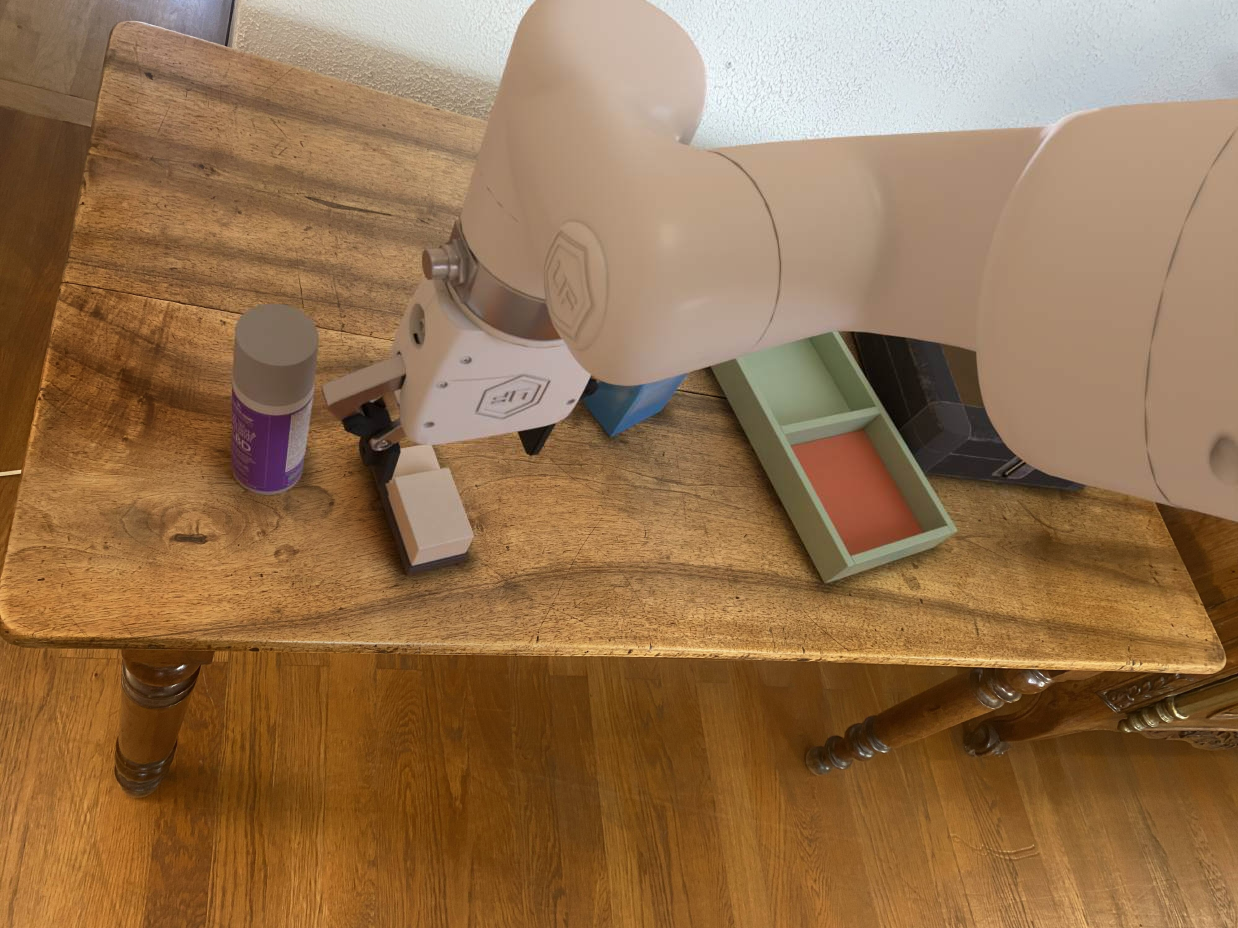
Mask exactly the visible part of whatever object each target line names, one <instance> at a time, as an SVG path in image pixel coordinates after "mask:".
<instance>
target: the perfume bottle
mask: <svg viewBox="0 0 1238 928" xmlns="http://www.w3.org/2000/svg"><path fill="white" fill-rule="evenodd" d="M689 373H690V372H688V373H685V374H681V375H678V376H675V377H671V378H668V379H664V380H661V381H657V382H653V383H647V384H642V385H633V386H623V385H614V384H609V383H606V382H604V381H600V382H599V383H598V385H599V388H598V390H597V391H596V392H595V393H594V394H593V395H590V396H587V397H586V398H584V399H582V400H580V402H581V403H582V404H584V406H585V407H586V408H587V410H588V411H589V412H590V413H591V415H592V416H593V418H594V419H595V420H596V421H597V422H598V424H599V425H600V426H601V427H602V429H603V430H604V432H605V433H606V435H608V437H609V438H612V437H614V436H616V435H618V434H620V433H621V432H624V431H626V430H628V429H629V428H631V427H633V426H636V425H637V424H639V423H641V422H643V421H645V420H647V419H649V418H650V417H652V416H654V415H656V414H658V413H660V412H662V410H663V409H664V408H665V406H666V405H667V404H668V403H669V401H670V399H671V398H672V396H673V395H674V394H675V392H676V391H677V389H678V388H679V387H680V385H681V384H682V382H683V381H684V380H685V379H686V377H687V376H688V374H689Z"/></svg>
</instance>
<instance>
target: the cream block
mask: <svg viewBox="0 0 1238 928" xmlns="http://www.w3.org/2000/svg"><path fill="white" fill-rule="evenodd" d="M400 449H401V453H400V456H399V459H398V462H397V465H396V468H395V471H394V474H393V477H392V480H390V481H389V483H386V484H381V485H379V483H378V481H377V478H376V475H375V472H374V469H373V466H370V470H371V474H372V477H373V480H374V482H375V487H376V489H377V492H378V494H379V497H380V500H381V504H382V506H383V510H384V512H385V516H386V519H387V521H388V524H389V529H390V531H391V533H392V536H393V539H394V542H395V546H396V548H397V552H398V555H399V558H400V561H401V565H402V567H403V569H404V573H405V575H406V577H409V576H414V575H418V574H422V573H425V572H429V571H433V570H438V569H441V568H446V567H449V566H454V565H457V564H461V563H466V562H467V560H468V557H469V556H470V554H469V551H468V549H469V547H470V545H471V543H472V541H473V539H474V538H475V533H474V532H473V529H472V526H471V524H470V521H469V518H468V516H467V513H466V510H465V508H464V505H463V502H462V499H461V497H460V494H459V492H458V489H457V486H456V483H455V481H454V478H453V474H452V473H451V469H450V467H440V463H439V461H438V458H437V455H436V452H435V450H434V447H433V445H423V444H418V445H413V446H405V447H402V448H401V447H400Z"/></svg>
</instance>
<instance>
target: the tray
mask: <svg viewBox="0 0 1238 928" xmlns="http://www.w3.org/2000/svg"><path fill="white" fill-rule="evenodd" d="M709 367H710V369H711V370H712V373H713V374H714V377H715V378H716V380H717V382H718V384H719V386H720V388H721V390H722V392H723V393H724V395H725V397H726V399H727V401H728V404H729V405H730V407H731V408H732V411H733V412H734V415H735V416H736V419H737V420H738V422H739V424H740V426H741V428H742V430H743V432H744V433H745V435H746V438H747V439H748V441H749V443H750V445H751V447H752V448H753V450H754V452H755V454H756V456H757V458H758V460H759V462H760V464H761V466H762V468H763V470H764V471H765V473H766V476H767V477H768V479H769V481H770V483H771V485H772V487H773V489H774V491H775V492H776V494H777V496H778V498H779V500H780V502H781V504H782V506H783V507H784V510H785V511H786V513H787V515H788V517H789V519H790V521H791V523H792V525H793V526H794V528H795V530H796V532H797V534H798V536H799V538H800V540H801V541H802V544H803V546H804V548H805V549H806V551H807V553H808V555H809V557H810V559H811V561H812V562H813V565H814V567H815V568H816V570H817V572H818V574H819V576H820V578H821V580H822V581H823V583H824V584H828V583H831V582H834V581H838V580H840V579H843V578H846V577H850V576H852V575H855V574H858V573H861V572H864V571H868V570H870V569H873V568H876V567H879V566H883V565H885V564H889V563H891V562H894V561H897V560H900V559H904V558H905V557H909V556H912V555H915V554H918V553H921V552H924V551H927V550H930V549H933V548H935V547H936V546H937V545H939V544H940V543H942V542H944V541H945V540H946V539H948V538H949V537H951V536H953V535H955V534H956V533H957V532H959V531H958V528H957V526H956V524H955V523H954V521H953V520H952V518H951V517H950V515H949V513H948V512H947V510H946V508H945V507H944V505H943V503H942V502H941V500H940V498H939V497H938V495H937V493H936V491H935V490H934V488H933V486H932V485H931V484H930V482H929V480H928V479H927V477H926V474H923V472H922V470H921V469H920V467H919V465H918V464H917V462H916V460H915V459H914V457H913V455H912V454H911V452H910V450H909V449H908V447H907V445H906V444H905V442H904V440H903V439H902V437H901V435H900V434H899V432H898V430H897V429H896V427H895V425H894V424H893V422H892V420H891V419H890V417H889V415H888V414H887V412H886V410H885V409H884V407H883V405H882V404H881V402H880V401H879V399H878V397H877V396H876V394H875V392H874V391H873V389H872V387H871V386H870V384H869V382H868V379H867V376H865V374H864V372H863V370H862V369H861V368H860V366H859V364H858V362H857V360H856V359H855V357H854V356H853V354H852V352H851V350H850V349H849V348H848V345H847V344H846V342H845V341H844V339H843V338H842V336H841V334H840V331H835V332H828V333H825V334H821V335H817V336H813V337H809V338H805V339H801V340H797V341H793V342H790V343H786V344H782V345H779V346H775V347H772V348H768V349H764V350H761V351H758V352H754V353H751V354H748V355H744V356H741V357H738V358H735V359H732V360H729V361H726V362H723V363H719V364H716V365H712V366H709Z"/></svg>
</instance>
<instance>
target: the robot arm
mask: <svg viewBox="0 0 1238 928" xmlns="http://www.w3.org/2000/svg"><path fill="white" fill-rule="evenodd" d="M510 46H511V47H510V49H509V53H508V56H507V59H506V61H505V65H504V68H503V72H502V76H501V78H500V82H499V85H498V89H497V92H496V95H495V99H494V102H493V104H492V108H491V111H490V115H489V117H488V120H487V124H486V127H485V130H484V134H483V137H482V141H481V144H480V148H479V150H478V154H477V157H476V160H475V164H474V168H473V170H472V173H471V177H470V180H469V183H468V187H467V191H466V193H465V197H464V201H463V204H462V208H461V210H460V212H459V213H460V214H459V217H458V219H457V220H454V222H453V225H452V230H451V233H450V236H449V240H448V241H447V242H445V243H444V244H441V245H439V247H437V248H436V247H435V248H425V249H424V250H423V251H422V253H421V266H422V271H423V274H424V276H423V277H422V279H421V281H420V282H419V284H418V286H417V288H416V290H415V291H414V293H413V295H412V297H411V299H410V301H409V303H408V305H407V307H406V309H405V311H404V313H403V315H402V318H401V320H400V324H399V326H398V328H397V331H396V333H395V335H394V339H393V342H392V345H391V348H390V350H389V355H388V358H385V359H382V360H380V361H378V362H375V363H373V364H370V365H368V366H365V367H363V368H360V369H358V370H355V371H353V372H351V373H348V374H345V375H343V376H340V377H338V378H335V379H333V380H330V381H328V382H326V383H324V384H323V385H321V388H320V389H321V393H322V396H323V399H324V402H325V405H326V408H327V410H328V411H329V413H330V415H332V416H333V417H334V418H335V419H336V420H337V422H340V424H342V426H343V429H344V431H345V432H346V433H349V434H351V435H354V436H356V437H359V442H358V451H359V455H360V458H361V461H362V465H363V466H364V467H365V468H369V467H370V466H373V469H374V472H375V475H376V478H377V481H378V483H379V485H381V484H386V483H389V481H390V480H392V477H393V474H394V471H395V468H396V465H397V462H398V459H399V456H400V453H401V449H400V448H401V445H400V442H401V441H402V440H404V439H405V438H407V440H408V441H410V442H411V443H415V444H418V445H432V446H437V445H444V444H451V443H459V442H465V441H471V440H477V439H483V438H488V437H493V436H500V435H506V434H512V433H516V432H517V435H518V437H519V440H520V442H521V445H522V447H523V450H524V452H525V454H526V455H529V456H530V457H532V456H538V455H539V454H540V453H541V451H542V449H543V447H544V446H545V444H546V443H547V440H548V439H549V437H550V435H551V434H552V432H553V430H554V428H555V427H556V425H557V423H559V422H561V421H563V420H564V419H567V418H568V417H570V416H571V415H572V414H573V410H574V408H575V407H576V405H577V404H578V403H579V402H581V400H582V399H584V398H586V397H587V396H590V395H593V394H594V393H595V392H596V391H597V390H598V388H599V385H598V383H599V382H600V381H604V382H606V383H609V384H614V385H623V386H633V385H642V384H647V383H653V382H657V381H661V380H664V379H668V378H671V377H675V376H678V375H681V374H685V373H688V372H689V373H691V372H695V371H698V370H701V369H705V368H709V367H710V366H712V365H716V364H719V363H723V362H726V361H729V360H732V359H735V358H738V357H741V356H744V355H748V354H751V353H754V352H758V351H761V350H764V349H768V348H772V347H775V346H779V345H782V344H786V343H790V342H793V341H797V340H801V339H805V338H809V337H813V336H817V335H821V334H825V333H828V332H835V331H838V332H853V331H857V332H869V333H877V334H884V335H891V336H899V337H907V338H914V339H918V340H924V341H930V342H936V343H942V344H947V345H952V346H956V347H961V348H964V349H968V350H972V351H975V352H976V357H977V370H978V378H979V386H980V390H981V395H982V400H983V403H984V406H985V409H986V412H987V415H988V417H989V419H990V421H991V423H992V425H993V426H994V428H995V429H996V431H997V432H998V434H999V436H1000V437H1001V439H1002V440H1003V441H1004V443H1005V444H1006V446H1007V447H1008V448H1009V449H1010V450H1011V451H1012V452H1013V453H1014V454H1016V455H1017V456H1018V457H1019V458H1021V459H1022V460H1023V461H1024V462H1026V463H1027V464H1028V465H1030V466H1032V467H1034V468H1036V469H1038V470H1040V471H1042V472H1044V473H1046V474H1048V475H1051V476H1056V477H1059V478H1063V479H1066V480H1070V481H1073V482H1077V483H1080V484H1084V485H1087V486H1089V487H1093V488H1096V489H1103V490H1107V491H1111V492H1114V493H1119V494H1122V495H1127V496H1130V497H1135V498H1138V499H1142V500H1146V501H1149V502H1153V503H1157V504H1162V505H1165V506H1169V507H1173V508H1177V509H1182V510H1190V511H1194V512H1198V513H1202V514H1205V515H1209V516H1213V517H1217V518H1220V519H1224V520H1228V521H1233V522H1235V523H1238V97H1232V98H1217V99H1203V100H1202V99H1201V100H1200V99H1199V100H1184V101H1182V100H1181V101H1163V102H1149V103H1147V102H1146V103H1134V104H1132V103H1131V104H1119V105H1111V106H1105V107H1097V108H1096V107H1095V108H1090V109H1083V110H1078V111H1074V112H1071V113H1068V114H1065V115H1064V116H1062V117H1061V118H1060V119H1058V120H1057V121H1056V122H1053V123H1048V124H1042V125H1033V126H1032V125H1031V126H1021V127H1004V128H1003V127H1001V128H984V129H983V128H981V129H965V130H947V131H946V130H945V131H931V132H930V131H929V132H911V133H909V132H908V133H892V134H891V133H890V134H889V133H888V134H870V135H868V134H867V135H849V136H848V135H847V136H829V137H817V138H804V139H794V140H782V141H781V140H779V141H768V142H759V143H749V144H742V145H741V144H740V145H731V146H730V145H729V146H721V147H714V148H703V149H702V148H698V147H695V146H691V143H692V141H693V140H694V137H695V136H696V133H697V131H698V130H699V127H700V125H701V123H702V121H703V118H704V116H705V113H706V109H707V105H708V101H709V100H708V99H709V87H710V86H709V85H710V83H709V78H708V71H707V67H706V63H705V61H704V58H703V56H702V54H701V53H700V51H699V49H698V48H697V46H696V44H695V42H694V40H693V39H692V38H691V37H690V35H689V33H688V32H686V30H685V29H684V28H683V27H682V26H681V25H680V24H679V23H678V22H677V20H675V19H673V17H671V16H670V15H669V14H668V13H667V12H665V11H664V10H662V9H661V8H659V7H657V6H656V5H654V4H653V3H651V2H650V1H648V0H534V2H532V3H531V5H530V6H529V7H528V9H527V10H526V11H525V12H524V14H523V16H522V18H521V19H520V21H519V23H518V25H517V28H516V31H515V34H514V36H513V39H512V43H511V45H510ZM689 373H688V374H689ZM394 404H397V406H398V411H399V417H398V418H396V419H394V420H393V421H392V418H391V416H390V412H389V410H388V408H390V407H391V406H393V405H394Z"/></svg>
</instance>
